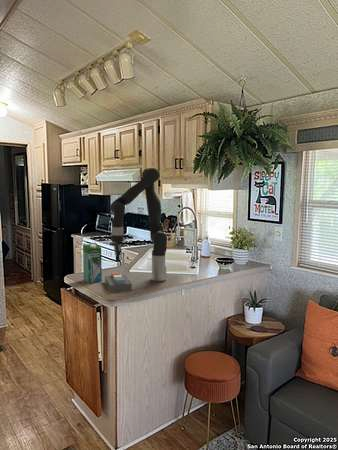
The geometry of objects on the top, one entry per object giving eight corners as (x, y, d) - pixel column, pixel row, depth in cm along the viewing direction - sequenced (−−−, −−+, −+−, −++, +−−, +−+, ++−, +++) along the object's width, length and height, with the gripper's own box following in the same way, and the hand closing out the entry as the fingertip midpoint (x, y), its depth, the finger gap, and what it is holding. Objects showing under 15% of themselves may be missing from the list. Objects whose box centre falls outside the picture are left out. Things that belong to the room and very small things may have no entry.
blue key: (123, 282, 205) (123, 277, 205) (124, 284, 201) (124, 279, 200) (115, 282, 204) (115, 278, 203) (116, 285, 199) (116, 280, 199)
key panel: (124, 280, 222) (124, 274, 221) (131, 290, 201) (131, 283, 201) (105, 281, 217) (104, 276, 217) (110, 292, 197) (110, 285, 196)
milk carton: (88, 283, 213) (88, 245, 210) (83, 280, 221) (82, 243, 218) (101, 281, 219) (101, 244, 216) (96, 278, 226) (95, 242, 223)
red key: (118, 276, 219) (118, 271, 218) (120, 278, 214) (120, 273, 214) (111, 276, 217) (111, 272, 217) (112, 278, 212) (112, 274, 212)
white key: (120, 279, 212) (120, 274, 212) (122, 281, 207) (122, 276, 207) (113, 279, 210) (113, 275, 210) (114, 281, 206) (114, 277, 205)
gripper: (125, 235, 200) (125, 263, 202) (121, 232, 213) (121, 258, 215) (113, 235, 198) (113, 263, 200) (109, 232, 210) (110, 259, 212)
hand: (117, 261), depth 207 cm, fingers closed
